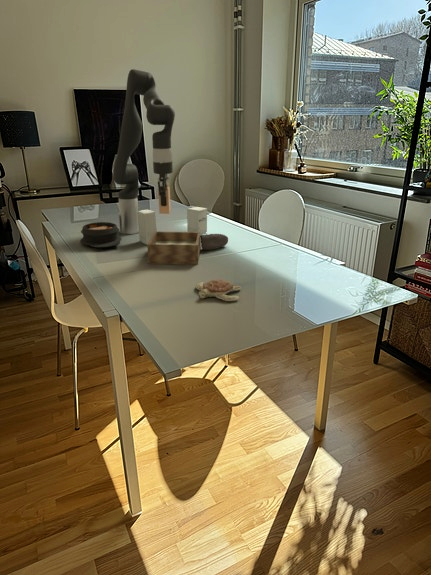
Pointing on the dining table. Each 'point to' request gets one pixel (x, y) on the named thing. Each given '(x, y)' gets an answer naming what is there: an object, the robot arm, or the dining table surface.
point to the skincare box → (146, 225)
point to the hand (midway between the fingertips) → (164, 204)
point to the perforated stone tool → (213, 241)
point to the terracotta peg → (167, 208)
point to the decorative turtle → (217, 290)
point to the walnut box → (174, 248)
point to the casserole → (100, 234)
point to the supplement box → (197, 220)
